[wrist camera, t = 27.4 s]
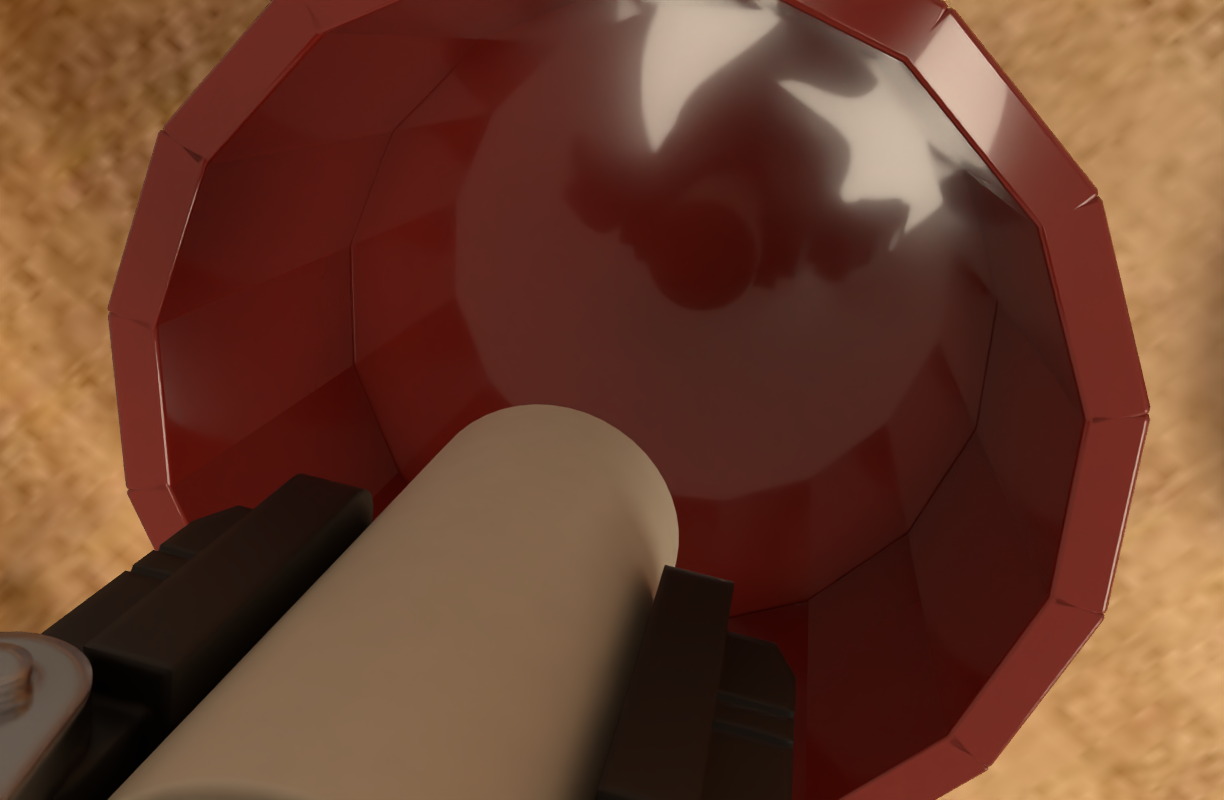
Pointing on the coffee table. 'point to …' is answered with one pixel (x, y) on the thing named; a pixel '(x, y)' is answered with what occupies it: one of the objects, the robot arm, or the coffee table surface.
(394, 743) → the tube
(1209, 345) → the coffee table surface
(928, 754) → the pot
